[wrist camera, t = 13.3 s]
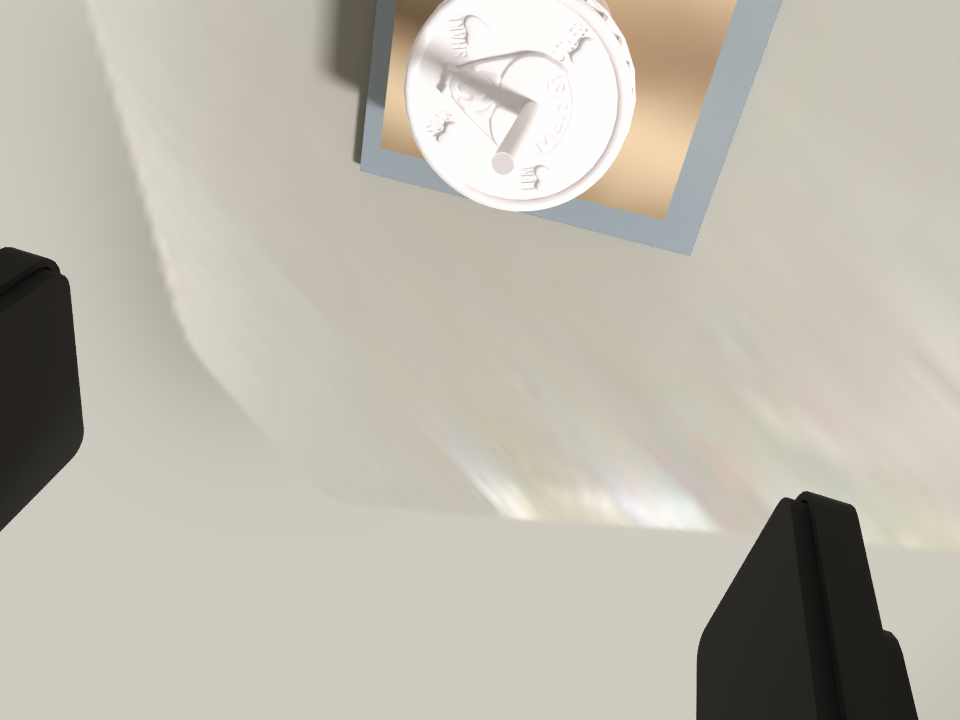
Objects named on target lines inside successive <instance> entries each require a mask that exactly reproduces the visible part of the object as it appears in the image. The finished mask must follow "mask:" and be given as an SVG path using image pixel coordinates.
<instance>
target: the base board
mask: <svg viewBox="0 0 960 720" xmlns="http://www.w3.org/2000/svg"><path fill="white" fill-rule="evenodd" d="M396 3H397V0H377V3H376V13H375V23H374V33H373V43H372V54H371V64H370V74H369V84H368V94H367V104H366V114H365V124H364V135H363V145H362V155H361V165H360V171H363V172H367V173H371V174H375V175H378V176H382V177H386V178H390V179H394V180H398V181H402V182H405V183H409V184H413V185H417V186H421V187H425V188H429V189H432V190H436V191H440V192H444V193H448V194H452V195H456V196H459V197H463V198H467V199H470V198H468V197H466V196H464V195H463V194H461V193H459V192H458V191H456V190H455V189H454V188H452V187H451V186H450V185H448V184H447V183H446V182H445V181H444V180H443V179H442V178H441V177H440V176H439V175H438V174H437V173H436V172H435V171H434V170H433V169H432V167H431V166H430V165H429V164H428V162H427V161H426V160H425V159H422V158H418V157H414V156H410V155H406V154H402V153H398V152H394V151H390V150H386V149H382V148H380V146H381V137H382V128H383V119H384V110H385V101H386V92H387V83H388V74H389V65H390V57H391V48H392V39H393V30H394V21H395V12H396ZM781 3H782V0H737V3H736V6H735V9H734V12H733V15H732V18H731V21H730V24H729V27H728V30H727V33H726V36H725V39H724V42H723V45H722V48H721V51H720V54H719V57H718V60H717V63H716V66H715V69H714V72H713V75H712V78H711V81H710V84H709V87H708V90H707V93H706V96H705V99H704V102H703V105H702V108H701V111H700V114H699V117H698V120H697V123H696V126H695V129H694V132H693V135H692V138H691V141H690V144H689V147H688V150H687V153H686V156H685V159H684V162H683V165H682V168H681V171H680V174H679V177H678V180H677V183H676V186H675V189H674V193H673V196H672V199H671V202H670V205H669V208H668V211H667V214H666V217H665V220H660V219H656V218H652V217H648V216H644V215H640V214H636V213H632V212H628V211H625V210H621V209H617V208H613V207H609V206H605V205H601V204H597V203H593V202H589V201H586V200H582V199H578V198H573V199H571V200H569V201H567V202H565V203H562V204H560V205H557V206H554V207H550V208H547V209H541V210H535V211H517V212H521V213H525V214H529V215H533V216H537V217H541V218H544V219H548V220H552V221H556V222H560V223H564V224H568V225H571V226H575V227H579V228H583V229H587V230H591V231H595V232H598V233H602V234H606V235H610V236H614V237H618V238H622V239H625V240H629V241H633V242H637V243H641V244H645V245H649V246H653V247H656V248H660V249H664V250H668V251H672V252H676V253H680V254H683V255H687V256H690V255H691V252H692V249H693V247H694V244H695V241H696V238H697V235H698V233H699V230H700V227H701V224H702V222H703V219H704V216H705V213H706V211H707V208H708V205H709V202H710V200H711V197H712V194H713V191H714V188H715V186H716V183H717V180H718V177H719V175H720V172H721V169H722V166H723V164H724V161H725V158H726V155H727V153H728V150H729V147H730V144H731V141H732V139H733V136H734V133H735V130H736V128H737V125H738V122H739V119H740V117H741V114H742V111H743V108H744V106H745V103H746V100H747V97H748V94H749V92H750V89H751V86H752V83H753V81H754V78H755V75H756V72H757V70H758V67H759V64H760V61H761V59H762V56H763V53H764V50H765V47H766V45H767V42H768V39H769V36H770V34H771V31H772V28H773V25H774V23H775V20H776V17H777V14H778V12H779V9H780V6H781ZM471 200H472V199H471Z"/></svg>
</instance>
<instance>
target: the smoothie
mask: <svg viewBox="0 0 960 720" xmlns="http://www.w3.org/2000/svg"><path fill="white" fill-rule="evenodd" d="M404 102H405V109H406V115H407V119H408V123H409V126H410V129H411V132H412V135H413V137H414V140H415V142H416V144H417V146H418V148H419V150H420V151H421V153H422V155H423V156H424V158H425V159H426V161H427V162H428V164H429V165H430V166H431V167H432V169H433V170H434V171H435V172H436V173H437V174H438V175H439V176H440V177H441V178H442V179H443V180H444V181H445V182H446V183H447V184H448V185H450V186H451V187H452V188H454V189H455V190H456V191H458V192H459V193H461V194H463V195H464V196H466V197H468V198H470V199H472V200H474V201H476V202H478V203H481V204H483V205H486V206H490V207H493V208H497V209H502V210H509V211H535V210H541V209H547V208H550V207H554V206H557V205H560V204H562V203H565V202H567V201H569V200H571V199H573V198H575V197H577V196H578V195H580V194H582V193H583V192H585V191H586V190H587V189H589V188H590V187H591V186H592V185H594V184H595V183H596V182H597V181H598V180H599V179H600V178H601V177H602V176H603V174H604V173H605V172H606V171H607V170H608V169H609V167H610V166H611V164H612V163H613V161H614V160H615V158H616V156H617V155H618V153H619V151H620V149H621V147H622V144H623V142H624V140H625V137H626V136H627V134H628V132H629V128H630V124H631V120H632V115H633V111H634V107H635V102H636V93H635V69H634V66H633V62H632V59H631V56H630V53H629V49H628V46H627V43H626V40H625V37H624V36H623V34H622V33H621V31H620V29H619V28H618V26H617V25H616V23H615V22H614V20H613V18H612V16H611V12H610V9H609V7H608V4H607V3H606V1H605V0H444V1H443V2H441V3H440V4H439V5H438V7H437V8H436V10H435V11H434V12H433V14H432V15H431V16H430V17H429V18H428V20H427V21H426V22H425V24H424V25H423V27H422V28H421V30H420V32H419V33H418V35H417V37H416V39H415V41H414V43H413V46H412V48H411V51H410V54H409V57H408V61H407V65H406V71H405V78H404Z"/></svg>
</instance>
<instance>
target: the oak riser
mask: <svg viewBox="0 0 960 720" xmlns="http://www.w3.org/2000/svg"><path fill="white" fill-rule="evenodd" d="M443 1H444V0H397V3H396V12H395V21H394V30H393V39H392V48H391V57H390V65H389V74H388V83H387V92H386V101H385V110H384V119H383V128H382V137H381V146H380V148H382V149H386V150H390V151H394V152H398V153H402V154H406V155H410V156H414V157H418V158H422V159H425V158H424V156H423V155H422V153H421V151H420V150H419V148H418V146H417V144H416V142H415V140H414V137H413V135H412V132H411V129H410V126H409V123H408V119H407V115H406V109H405V102H404V78H405V71H406V65H407V61H408V57H409V54H410V51H411V48H412V46H413V43H414V41H415V39H416V37H417V35H418V33H419V32H420V30H421V28H422V27H423V25H424V24H425V22H426V21H427V20H428V18H429V17H430V16H431V15H432V14H433V12H434V11H435V10H436V8H437V7H438V5H439V4H440V3H441V2H443ZM605 1H606V3H607V4H608V7H609V9H610V12H611V16H612V18H613V20H614V22H615V23H616V25H617V26H618V28H619V29H620V31H621V33H622V34H623V36H624V37H625V40H626V43H627V46H628V49H629V53H630V56H631V59H632V62H633V66H634V69H635V93H636V102H635V107H634V111H633V115H632V120H631V124H630V128H629V132H628V134H627V136H626V137H625V140H624V142H623V144H622V147H621V149H620V151H619V153H618V155H617V156H616V158H615V160H614V161H613V163H612V164H611V166H610V167H609V169H608V170H607V171H606V172H605V173H604V174H603V176H602V177H601V178H600V179H599V180H598V181H597V182H596V183H595V184H594V185H592V186H591V187H590V188H589V189H587V190H586V191H585V192H583V193H582V194H580V195H578V196H577V197H575V198H578V199H582V200H586V201H589V202H593V203H597V204H601V205H605V206H609V207H613V208H617V209H621V210H625V211H628V212H632V213H636V214H640V215H644V216H648V217H652V218H656V219H660V220H665V217H666V214H667V211H668V208H669V205H670V202H671V199H672V196H673V193H674V189H675V186H676V183H677V180H678V177H679V174H680V171H681V168H682V165H683V162H684V159H685V156H686V153H687V150H688V147H689V144H690V141H691V138H692V135H693V132H694V129H695V126H696V123H697V120H698V117H699V114H700V111H701V108H702V105H703V102H704V99H705V96H706V93H707V90H708V87H709V84H710V81H711V78H712V75H713V72H714V69H715V66H716V63H717V60H718V57H719V54H720V51H721V48H722V45H723V42H724V39H725V36H726V33H727V30H728V27H729V24H730V21H731V18H732V15H733V12H734V9H735V6H736V3H737V0H605ZM425 160H426V159H425Z"/></svg>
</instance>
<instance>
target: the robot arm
mask: <svg viewBox="0 0 960 720" xmlns="http://www.w3.org/2000/svg"><path fill="white" fill-rule="evenodd" d="M83 435H84V427H83V417H82V406H81V396H80V387H79V377H78V365H77V355H76V345H75V335H74V324H73V314H72V304H71V294H70V285H69V282H68V279H67V278H66V277H65V276H63V275H62V274H61V273H60V270H59V267H58V266H57V264H56V262H54V261H53V260H50V259H48V258H45V257H42V256H38V255H35V254H32V253H29V252H25V251H21V250H18V249H16V248H12V247H4V248H2V249H0V531H1V530H2V529H3V528H4V527H5V526H6V525H7V524H8V523H9V522H10V521H11V520H12V519H13V518H14V517H15V516H16V515H17V514H18V513H19V512H20V511H21V510H22V509H23V508H24V507H25V506H26V505H27V504H28V503H29V502H30V501H31V500H32V499H33V498H34V497H35V496H36V495H37V494H38V493H39V492H40V491H41V490H42V489H43V488H44V486H46V485H47V484H48V482H49V481H50V480H51V479H52V478H53V477H54V476H55V475H56V474H57V473H58V472H59V471H60V470H61V469H62V468H63V467H64V466H65V465H66V464H67V463H68V462H69V461H70V460H71V459H72V458H73V457H74V456H75V454H76V453H77V451H78V449H79V448H80V445H81V443H82V440H83ZM696 706H697V710H696V715H697V716H696V720H918V717H917V712H916V708H915V704H914V699H913V695H912V691H911V687H910V683H909V678H908V675H907V670H906V666H905V662H904V658H903V653H902V650H901V648H900V645H899V642H898V640H897V639H896V637H895V636H894V635H893V634H892V633H891V632H889V631H885V630H883V628H882V624H881V619H880V615H879V610H878V606H877V601H876V597H875V592H874V588H873V583H872V578H871V574H870V569H869V565H868V560H867V556H866V551H865V547H864V542H863V538H862V533H861V528H860V524H859V519H858V515H857V512H856V509H855V508H854V507H853V506H852V505H851V504H847V503H844V502H841V501H837V500H834V499H831V498H828V497H824V496H821V495H818V494H815V493H811V492H808V491H805V492H802V493H801V494H800V495H799V496H798V497H797V498H796V500H793V499H790V498H783V499H782V500H781V501H780V502H779V503H778V505H777V506H776V508H775V510H774V512H773V513H772V515H771V517H770V518H769V520H768V522H767V523H766V525H765V527H764V529H763V530H762V532H761V534H760V535H759V537H758V539H757V540H756V542H755V544H754V546H753V547H752V549H751V551H750V552H749V554H748V556H747V558H746V559H745V561H744V563H743V564H742V566H741V568H740V570H739V571H738V573H737V575H736V576H735V578H734V580H733V582H732V583H731V585H730V587H729V588H728V590H727V592H726V593H725V595H724V597H723V599H722V600H721V602H720V604H719V605H718V607H717V609H716V610H715V612H714V614H713V616H712V617H711V619H710V621H709V623H708V624H707V626H706V628H705V629H704V631H703V633H702V636H701V639H700V643H699V647H698V653H697V705H696Z"/></svg>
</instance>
